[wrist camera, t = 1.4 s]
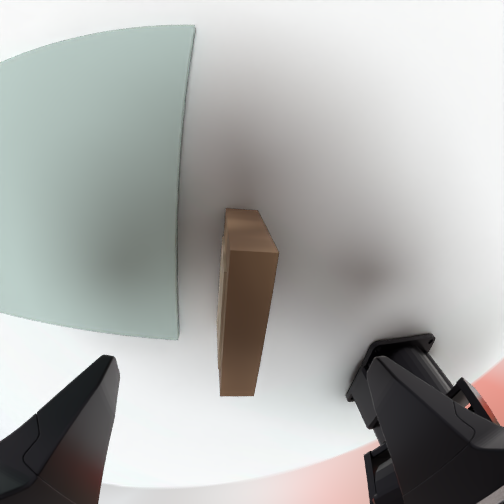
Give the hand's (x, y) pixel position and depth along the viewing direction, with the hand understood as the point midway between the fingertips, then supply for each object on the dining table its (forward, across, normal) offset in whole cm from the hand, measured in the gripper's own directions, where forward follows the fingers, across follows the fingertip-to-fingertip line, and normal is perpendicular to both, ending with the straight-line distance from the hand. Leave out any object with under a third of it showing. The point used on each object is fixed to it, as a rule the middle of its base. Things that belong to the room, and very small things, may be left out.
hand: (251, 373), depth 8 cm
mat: (+6, +10, -4) cm, 13 cm away
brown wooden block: (+7, 0, 0) cm, 7 cm away
